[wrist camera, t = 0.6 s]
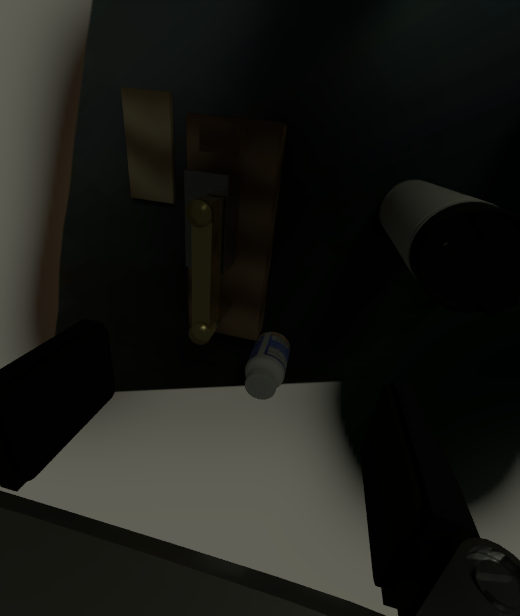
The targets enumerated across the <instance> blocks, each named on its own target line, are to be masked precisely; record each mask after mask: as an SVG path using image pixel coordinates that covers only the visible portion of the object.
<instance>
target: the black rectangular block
mask: <svg viewBox="0 0 520 616" xmlns="http://www.w3.org/2000/svg"><path fill="white" fill-rule="evenodd" d="M240 185H241V173H238V172H231V171H223V170H215V169H208V168H196V169H187V170H184V190H185V210H186V206H187V205H188V203H189V202H190V201H191V199H194V198H197V197H200V196H203V195H206V196H213V197H220V198H223V220H222V244H221V268H220V273H223V274H224V273H225V272H226V271H227V270H228V269H229V267H230V266H231V265H232V264H233V263H234V262H235V261H236V246H237V231H238V216H239V201H240ZM185 254H186V267H190V268H192V250H191V224H190V223H189V221H188V220H187V218H186V213H185Z"/></svg>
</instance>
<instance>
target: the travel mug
mask: <svg viewBox="0 0 520 616" xmlns="http://www.w3.org/2000/svg"><path fill="white" fill-rule="evenodd" d="M379 218H380V222H381V224H382V226H383V228H384V229H385V231H386V233H387V234H388V236H389V237H390V239H391V240H392V242H393V244H394V245H395V247H396V248H397V250H398V252H399V253H400V255H401V256H402V258H403V260H404V261H405V263H406V264H407V266H408V268H409V269H410V271H411V272H412V274H413V275H414V277H415V278H416V279H417V281H418V282H419V283H420V285H421V286H422V288H423V290H424V291H425V292H426V294H427V295H428V296H429V297H430V298H431V299H432V300H433V301H435V302H436V303H437V304H439V305H441V306H443V307H445V308H447V309H450V310H453V311H458V312H465V313H474V312H475V313H476V312H484V314H485V315H486V316H487V317H491V316H494V315H497V314H500V313H502V312H504V311H507V310H509V309H511V308H514V307H516V306H518V305H520V304H519V301H518V299H517V297H518V296H519V295H520V215H518V214H516V213H514V212H512V211H509V210H506V209H503V208H500V207H498V206H496V205H494V204H492V203H488V202H486V201H483V200H480V199H477V198H474V197H471V196H468V195H464V194H461V193H458V192H455V191H452V190H449V189H446V188H443V187H440V186H437V185H434V184H431V183H428V182H425V181H421V180H407V181H404V182H401V183H399V184H397V185H395V186H394V187H393V188H391V189H390V190H389V191H388V192H387V193H386V195H385V196H384V198H383V199H382V202H381V204H380V209H379Z"/></svg>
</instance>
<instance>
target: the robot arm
mask: <svg viewBox="0 0 520 616" xmlns="http://www.w3.org/2000/svg"><path fill="white" fill-rule="evenodd" d="M114 392H115V381H114V374H113V366H112V359H111V351H110V344H109V336H108V330H107V328H106V327H104V324H103V323H101V322H98V321H93V320H89V319H83V320H81V321H79V322H78V323H76V324H74V325H73V326H71V327H69V328H68V329H66V330H64V331H63V332H61V333H59V334H58V335H56V336H54V337H53V338H51V339H50V340H48V341H46V342H45V343H43V344H41V345H39V346H38V347H36V348H35V349H33V350H31V351H30V352H28V353H26V354H24V355H23V356H21V357H19V358H18V359H16V360H15V361H13V362H11V363H10V364H8V365H6V366H5V367H3V368H1V369H0V486H1V487H3V488H7V489H10V490H13V491H18V490H19V489H20V488H21V487H22V486H23V485H24V484H25V483H26V482H27V481H30V480H32V479H34V478H35V477H36V476H37V475H38V474H39V473H40V472H41V471H42V470H43V469H44V468H45V467H46V465H47V464H48V463H49V462H50V461H51V460H52V459H53V458H54V457H55V456H56V455H57V454H58V453H59V452H60V451H61V450H62V449H63V448H64V447H65V446H66V445H67V444H68V443H69V442H70V441H71V440H72V438H73V437H74V436H75V435H76V434H77V433H78V432H79V431H80V430H81V429H82V428H83V427H84V426H85V425H86V424H87V423H88V422H89V421H90V420H91V419H92V418H93V416H94V415H95V414H97V413H98V411H99V410H100V409H101V408H102V407H103V406H104V405H105V404H106V403H107V402H108V401H109V400H110V399H111V398H112V397H113V395H114ZM361 464H362V474H363V484H364V492H365V493H364V494H365V503H366V512H367V522H368V532H369V542H370V551H371V561H372V571H373V579H374V583H375V585H376V586H378V587H381V589H382V597H383V604H384V605H386V606H390V607H393V608H396V609H397V610H398V616H520V560H519V559H518V558H517V557H515V556H514V555H513V554H512V553H510V552H509V551H508V550H506V549H505V548H503V547H502V546H500V545H498V544H496V543H494V542H492V541H489V540H487V539H482V538H480V536H479V534H478V531H477V529H476V526H475V524H474V521H473V519H472V516H471V514H470V512H469V509H468V507H467V504H466V502H465V499H464V497H463V495H462V492H461V489H460V487H459V484H458V482H457V480H456V477H455V474H454V472H453V470H452V467H451V465H450V462H449V460H448V457H447V455H446V452H445V450H444V447H443V445H442V443H441V441H440V439H438V438H437V437H436V436H432V435H431V433H430V430H429V428H428V425H427V422H426V420H425V417H424V414H423V412H422V409H421V406H420V404H419V401H418V398H417V396H416V393H415V391H414V388H413V386H411V385H408V384H403V383H398V382H393V381H392V382H391V383H390V384H389V385H383V387H382V389H381V392H380V395H379V398H378V401H377V404H376V407H375V410H374V413H373V416H372V419H371V421H370V424H369V427H368V430H367V433H366V436H365V439H364V442H363V445H362V449H361ZM0 616H385V615H383V614H380V613H378V612H375V611H373V610H370V609H368V608H365V607H363V606H360V605H358V604H355V603H353V602H350V601H347V600H344V599H341V598H338V597H335V596H332V595H329V594H326V593H323V592H320V591H317V590H314V589H312V588H309V587H306V586H303V585H300V584H297V583H294V582H291V581H288V580H285V579H282V578H279V577H276V576H273V575H270V574H266V573H263V572H260V571H257V570H254V569H251V568H247V567H244V566H241V565H238V564H235V563H231V562H229V561H225V560H222V559H219V558H216V557H213V556H210V555H207V554H203V553H200V552H197V551H194V550H191V549H188V548H184V547H181V546H178V545H175V544H172V543H169V542H165V541H162V540H159V539H156V538H152V537H149V536H146V535H143V534H139V533H136V532H133V531H130V530H127V529H124V528H120V527H117V526H114V525H111V524H107V523H104V522H101V521H98V520H94V519H91V518H88V517H85V516H82V515H78V514H75V513H72V512H68V511H66V510H62V509H59V508H56V507H52V506H49V505H46V504H42V503H39V502H36V501H33V500H29V499H26V498H23V497H20V496H16V495H13V494H10V493H6V492H3V491H0Z"/></svg>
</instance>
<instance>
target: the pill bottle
mask: <svg viewBox="0 0 520 616" xmlns="http://www.w3.org/2000/svg"><path fill="white" fill-rule="evenodd" d="M289 353H290V344H289V342H288V340H287V339H286V338H285V337H284V336H283V335H281V334H279V333H276V332H266V333H263V334H262V335H260V336H259V337H258V339H257V341H256V342H255V345H254V347H253V350H252V352H251V354H250V357H249V359H248V362H247V364H246V367H245V375H246V381H245V388H246V390H247V392H248V393H249V394H250V395H251V396H253V397H255V398H257V399H268V398H270V397H272V396H273V394H274V393H275V390H276V388H277V387H279V386H280V385H281V383H282V382H283V379H284V376H285V371H286V367H287V362H288V358H289Z"/></svg>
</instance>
